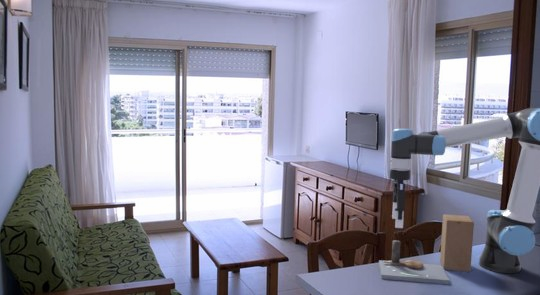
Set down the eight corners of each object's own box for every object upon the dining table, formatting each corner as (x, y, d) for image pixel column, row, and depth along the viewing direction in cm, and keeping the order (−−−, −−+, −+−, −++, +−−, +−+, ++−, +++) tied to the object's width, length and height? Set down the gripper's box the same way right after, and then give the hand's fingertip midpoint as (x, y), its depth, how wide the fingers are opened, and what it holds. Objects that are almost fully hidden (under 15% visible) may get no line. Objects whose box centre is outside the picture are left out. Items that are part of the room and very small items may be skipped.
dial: (421, 263, 188) (423, 240, 187) (424, 269, 181) (425, 246, 180) (382, 260, 190) (383, 237, 189) (383, 266, 184) (385, 243, 183)
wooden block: (470, 272, 184) (474, 221, 182) (443, 269, 186) (446, 220, 184) (465, 263, 194) (468, 215, 192) (439, 261, 196) (442, 213, 194)
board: (441, 268, 187) (441, 264, 187) (449, 284, 172) (449, 279, 172) (378, 263, 191) (379, 259, 191) (381, 278, 176) (381, 274, 175)
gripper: (387, 164, 195) (385, 214, 197) (393, 173, 171) (390, 231, 173) (406, 164, 194) (403, 215, 196) (414, 174, 169) (411, 232, 172)
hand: (397, 223), depth 184 cm, fingers open, 13 cm apart
